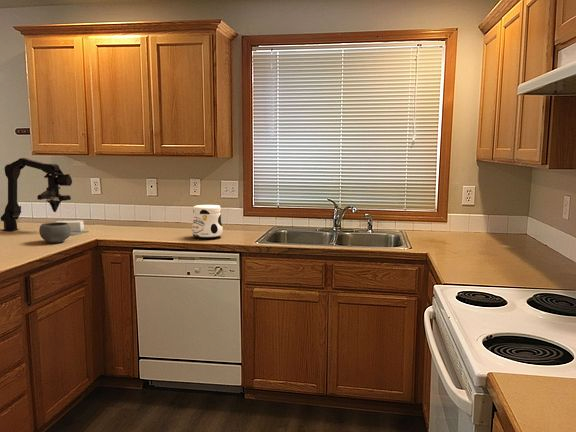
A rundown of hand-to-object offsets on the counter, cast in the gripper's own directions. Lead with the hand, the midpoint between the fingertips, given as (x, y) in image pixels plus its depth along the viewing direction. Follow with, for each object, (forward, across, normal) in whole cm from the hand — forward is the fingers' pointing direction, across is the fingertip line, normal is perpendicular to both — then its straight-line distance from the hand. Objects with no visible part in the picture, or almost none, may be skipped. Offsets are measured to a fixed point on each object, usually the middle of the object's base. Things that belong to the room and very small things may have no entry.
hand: (54, 211), depth 292 cm
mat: (+12, +10, 0) cm, 15 cm away
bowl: (+12, +21, -27) cm, 36 cm away
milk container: (+12, +92, +10) cm, 93 cm away
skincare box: (+9, -1, +1) cm, 9 cm away
